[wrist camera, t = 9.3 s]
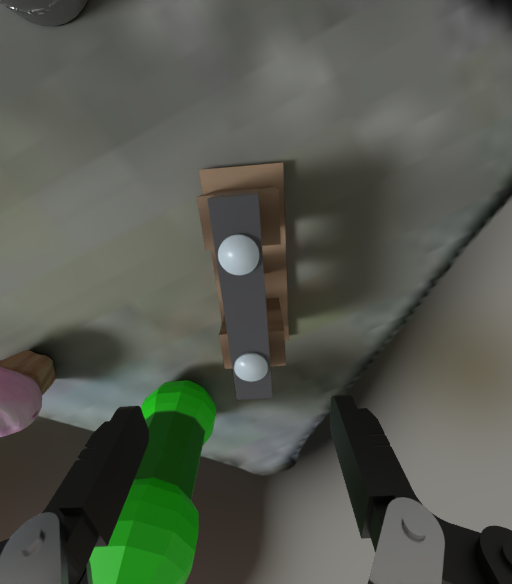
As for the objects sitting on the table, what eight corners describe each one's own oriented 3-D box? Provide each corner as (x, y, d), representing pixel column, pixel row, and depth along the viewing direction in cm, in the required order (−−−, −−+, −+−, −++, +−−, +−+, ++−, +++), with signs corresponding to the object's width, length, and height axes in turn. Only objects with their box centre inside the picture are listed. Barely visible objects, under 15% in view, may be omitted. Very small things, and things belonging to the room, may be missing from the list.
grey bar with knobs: (217, 194, 19) (206, 199, 15) (258, 190, 19) (258, 194, 15) (240, 367, 25) (236, 402, 21) (270, 365, 25) (272, 400, 21)
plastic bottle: (150, 414, 39) (1, 744, 16) (152, 359, 35) (-45, 703, 12) (215, 423, 40) (159, 752, 17) (225, 371, 36) (168, 716, 13)
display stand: (200, 170, 25) (177, 167, 18) (282, 162, 25) (292, 157, 18) (226, 339, 34) (217, 384, 26) (287, 335, 33) (296, 380, 26)
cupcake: (6, 376, 36) (-79, 443, 27) (6, 327, 33) (-90, 385, 24) (71, 394, 38) (11, 463, 29) (77, 349, 34) (12, 411, 25)
